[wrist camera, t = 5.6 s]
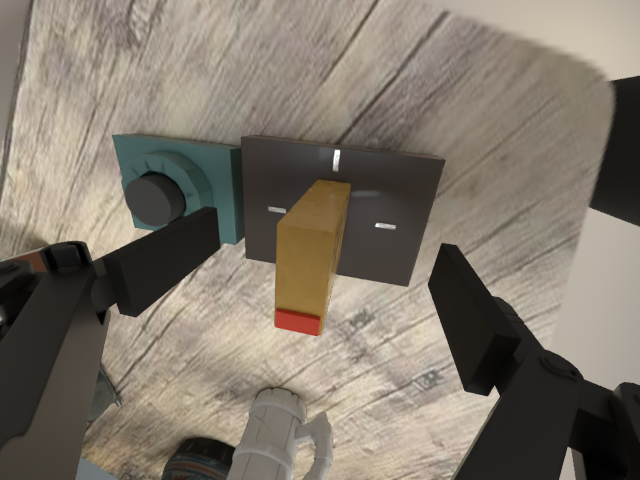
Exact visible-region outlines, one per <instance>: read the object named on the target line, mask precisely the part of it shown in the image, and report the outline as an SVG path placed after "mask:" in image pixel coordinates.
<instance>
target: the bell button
mask: <svg viewBox="0 0 640 480" xmlns="http://www.w3.org/2000/svg"><path fill="white" fill-rule="evenodd" d="M125 199H126V203H127V205H128V207H129V209H130V211H131V212H132V214H133V215H134V216H135V217H136V218H137V219H138V220H140V221H141V222H143V223H144V224H146V225H149V226H155V227H156V226H162V225H164V224H166V223H168V222H171V221H173V220H175V219H177V218H178V217H180V216H181V215H182V214H183V212H184V210H185V198H184V195H183V192H182V190H181V189H180V187H179V186H178V185H177V184H176V183H175V182H174V181H173V180H172V179H170V178H169V177H166V176H164V175H160V174H154V175H150V176H146V177H141V178H137V179H134V180H132V181H131V182H129V184H128V185H127V187H126V189H125Z"/></svg>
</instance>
